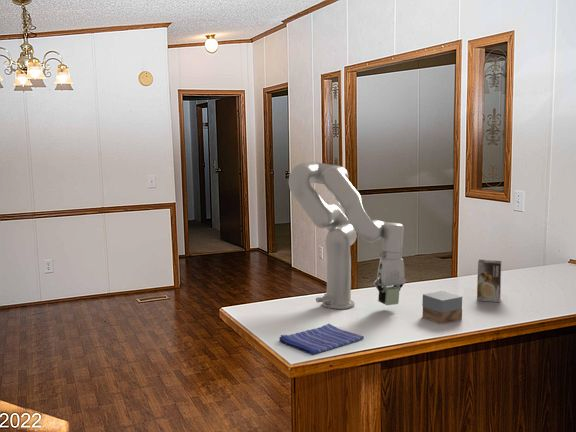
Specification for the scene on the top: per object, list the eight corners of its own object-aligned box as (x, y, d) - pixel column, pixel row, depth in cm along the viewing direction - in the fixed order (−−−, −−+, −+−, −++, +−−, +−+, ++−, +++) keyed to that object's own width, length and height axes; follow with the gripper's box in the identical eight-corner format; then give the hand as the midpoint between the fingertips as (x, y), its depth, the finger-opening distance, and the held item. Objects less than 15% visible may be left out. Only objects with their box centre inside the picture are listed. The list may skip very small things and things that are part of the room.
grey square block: (441, 312, 220) (442, 300, 220) (422, 306, 229) (422, 294, 228) (461, 308, 226) (462, 296, 225) (442, 302, 234) (442, 290, 234)
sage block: (386, 305, 234) (387, 290, 234) (378, 301, 239) (379, 286, 238) (398, 304, 237) (399, 288, 236) (389, 300, 242) (390, 285, 241)
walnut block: (441, 324, 221) (441, 312, 221) (422, 317, 230) (422, 306, 229) (461, 320, 226) (462, 308, 225) (442, 314, 235) (443, 302, 234)
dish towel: (276, 343, 203) (276, 334, 202) (328, 328, 218) (328, 320, 217) (312, 357, 190) (312, 348, 189) (364, 340, 205) (364, 332, 204)
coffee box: (500, 298, 255) (502, 260, 253) (499, 302, 249) (501, 263, 247) (477, 296, 258) (479, 259, 256) (476, 300, 252) (477, 261, 250)
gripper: (379, 258, 228) (376, 306, 231) (415, 255, 236) (412, 301, 239) (367, 254, 234) (364, 300, 237) (403, 251, 243) (399, 296, 245)
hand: (388, 300), depth 238 cm, fingers closed on sage block, 5 cm apart
